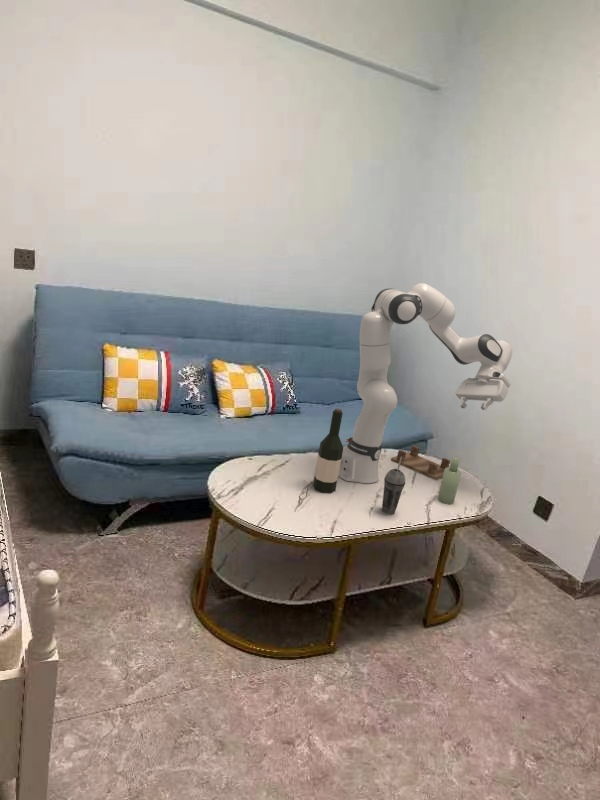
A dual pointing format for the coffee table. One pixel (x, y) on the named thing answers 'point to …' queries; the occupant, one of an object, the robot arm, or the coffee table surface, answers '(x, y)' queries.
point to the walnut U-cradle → (421, 463)
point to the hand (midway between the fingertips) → (472, 408)
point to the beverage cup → (392, 490)
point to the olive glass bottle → (450, 482)
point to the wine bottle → (329, 457)
